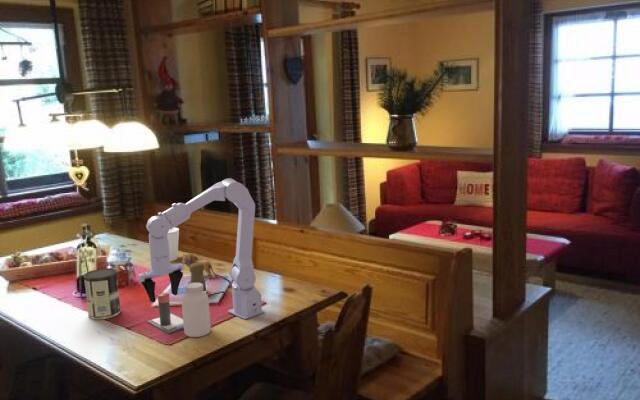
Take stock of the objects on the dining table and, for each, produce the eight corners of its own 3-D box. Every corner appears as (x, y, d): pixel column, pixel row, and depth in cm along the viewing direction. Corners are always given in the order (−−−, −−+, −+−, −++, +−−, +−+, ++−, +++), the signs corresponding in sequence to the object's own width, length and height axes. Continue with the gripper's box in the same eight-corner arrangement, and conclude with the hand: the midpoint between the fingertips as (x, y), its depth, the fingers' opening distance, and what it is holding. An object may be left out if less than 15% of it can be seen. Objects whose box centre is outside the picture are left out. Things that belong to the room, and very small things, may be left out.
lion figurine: (181, 277, 225) (179, 255, 223) (187, 272, 230) (186, 251, 228) (215, 279, 221) (214, 257, 220) (221, 275, 226) (219, 253, 225)
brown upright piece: (209, 289, 210) (207, 261, 208) (204, 295, 204) (202, 266, 202) (193, 289, 211) (190, 260, 209) (187, 295, 205) (185, 266, 203)
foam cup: (169, 263, 243) (167, 233, 240) (154, 260, 248) (151, 231, 245) (185, 257, 251) (183, 228, 248) (170, 254, 256) (168, 226, 253)
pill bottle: (199, 324, 180) (196, 279, 177) (216, 331, 174) (213, 284, 172) (178, 333, 174) (174, 286, 171) (195, 340, 168) (192, 291, 166)
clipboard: (194, 324, 179) (194, 320, 179) (168, 333, 173) (168, 329, 173) (172, 313, 189) (172, 310, 188) (147, 322, 182) (147, 318, 182)
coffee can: (113, 305, 197) (109, 266, 195) (125, 313, 190) (122, 273, 187) (83, 313, 191) (78, 273, 188) (94, 322, 183) (90, 280, 180)
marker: (173, 323, 179) (171, 294, 177) (163, 327, 177) (161, 297, 175) (167, 320, 181) (165, 292, 179) (157, 323, 179) (155, 295, 177)
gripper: (173, 248, 182) (177, 288, 185) (131, 258, 172) (135, 301, 175) (186, 252, 178) (189, 293, 180) (143, 263, 168) (147, 307, 170)
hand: (163, 297), depth 177 cm, fingers open, 7 cm apart
